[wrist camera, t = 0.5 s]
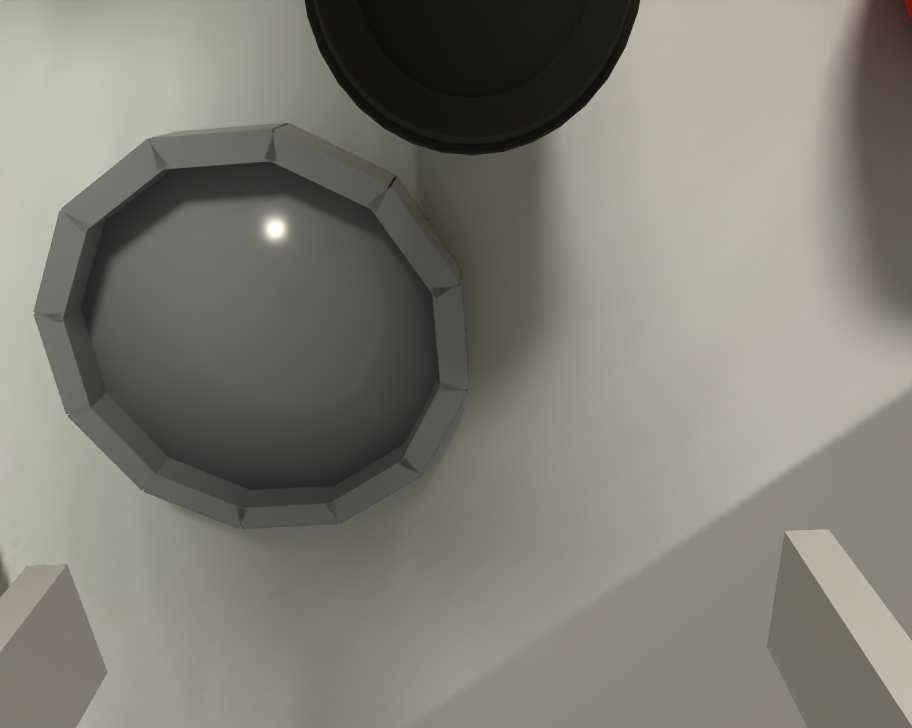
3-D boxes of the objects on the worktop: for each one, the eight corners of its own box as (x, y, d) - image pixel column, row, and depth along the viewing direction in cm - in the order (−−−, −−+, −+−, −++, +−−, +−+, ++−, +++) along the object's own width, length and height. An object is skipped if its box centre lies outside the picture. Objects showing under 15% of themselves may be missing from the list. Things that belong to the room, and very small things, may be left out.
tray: (18, 143, 35) (-20, 151, 32) (449, 110, 34) (447, 115, 31) (129, 505, 43) (106, 536, 41) (476, 486, 42) (477, 516, 40)
